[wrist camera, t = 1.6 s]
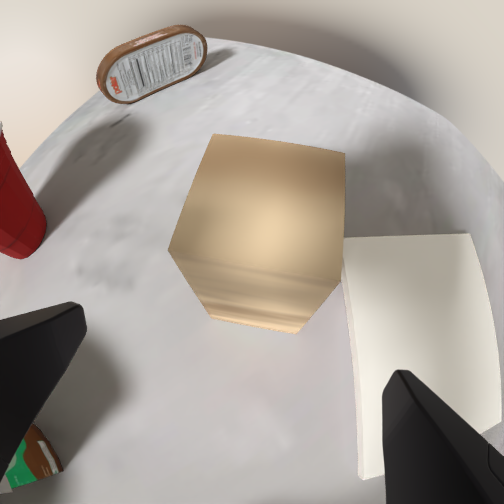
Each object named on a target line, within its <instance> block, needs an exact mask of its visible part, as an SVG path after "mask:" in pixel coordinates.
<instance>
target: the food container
mask: <svg viewBox="0 0 504 504" xmlns="http://www.w3.org/2000/svg"><path fill="white" fill-rule="evenodd" d="M62 471H63V469H62V466H61V463H60V461H59V458H58V457H57V455H56V453H55V451H54V449H53V448H52V446H51V444H50V442H49V441H48V440H47V439H46V437H45V436H44V435H43V433H42V432H41V431H40V429H39V428H37V427H36V426H35V425H34V424H33V423H32V425H31V426H30V428H29V430H28V431H27V433H26V435H25V437H24V438H23V440H22V442H21V444H20V446H19V447H18V449H17V451H16V453H15V455H14V457H13V459H12V460H11V462H10V464H9V467H8V469H7V471H6V473H5V475H4V477H3V479H2V481H1V483H0V494H4V493H11V492H13V491H12V488H16V487H19V486H22V485H25V484H29V483H32V482H35V481H38V480H40V479H43V478H46V477H49V476H52V475H54V474H57V473H59V472H62Z"/></svg>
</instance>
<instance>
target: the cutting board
mask: <svg viewBox="0 0 504 504" xmlns="http://www.w3.org/2000/svg"><path fill="white" fill-rule="evenodd" d="M341 280H342V286H343V292H344V299H345V306H346V313H347V320H348V328H349V336H350V345H351V354H352V364H353V375H354V387H355V401H356V419H357V448H358V476H359V477H360V478H361V479H362V480H366V479H370V478H373V477H377V476H380V475H384V474H385V470H384V458H383V446H382V393H383V390H384V388H385V386H386V385H387V383H388V381H389V379H390V377H391V376H392V374H393V372H394V371H395V370H397V369H401V370H409V371H411V372H412V373H413V374H414V375H415V376H416V377H418V378H419V379H420V380H421V381H422V382H423V383H424V384H425V385H426V386H428V387H429V388H430V389H431V390H432V391H433V392H434V393H435V394H436V395H438V396H439V397H440V398H441V399H442V400H443V401H444V402H445V403H446V404H447V405H449V406H450V407H451V408H452V409H453V410H454V411H455V412H456V413H457V414H458V415H459V416H461V417H462V418H463V419H464V420H465V421H466V422H467V423H468V424H469V425H470V426H471V427H472V428H474V429H475V430H476V431H477V432H478V433H479V434H481V433H482V432H484V431H486V430H488V429H489V428H491V427H493V426H494V425H496V424H498V423H499V422H501V411H502V407H501V379H500V366H499V356H498V348H497V340H496V333H495V327H494V322H493V316H492V311H491V306H490V302H489V297H488V293H487V289H486V285H485V281H484V277H483V273H482V270H481V266H480V263H479V260H478V256H477V253H476V250H475V247H474V244H473V241H472V238H471V235H470V234H434V235H403V236H375V237H348V238H344V240H343V257H342V271H341Z"/></svg>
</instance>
